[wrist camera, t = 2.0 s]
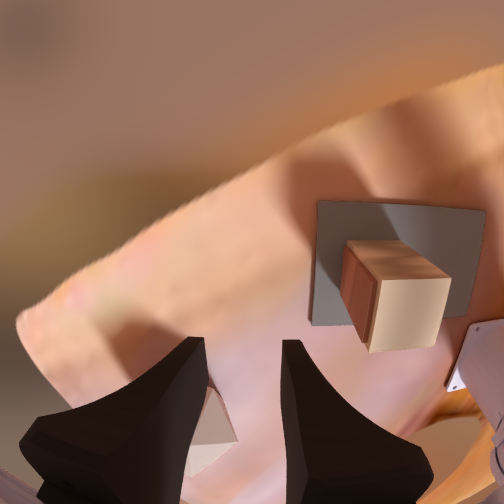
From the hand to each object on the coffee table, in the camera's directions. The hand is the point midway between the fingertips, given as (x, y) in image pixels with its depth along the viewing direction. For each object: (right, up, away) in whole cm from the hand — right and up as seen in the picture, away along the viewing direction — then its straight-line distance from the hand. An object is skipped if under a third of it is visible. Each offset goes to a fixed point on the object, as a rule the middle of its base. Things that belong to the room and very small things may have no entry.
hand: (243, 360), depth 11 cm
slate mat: (+12, +3, +9) cm, 15 cm away
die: (-5, -9, +14) cm, 17 cm away
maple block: (+9, +3, +9) cm, 13 cm away
